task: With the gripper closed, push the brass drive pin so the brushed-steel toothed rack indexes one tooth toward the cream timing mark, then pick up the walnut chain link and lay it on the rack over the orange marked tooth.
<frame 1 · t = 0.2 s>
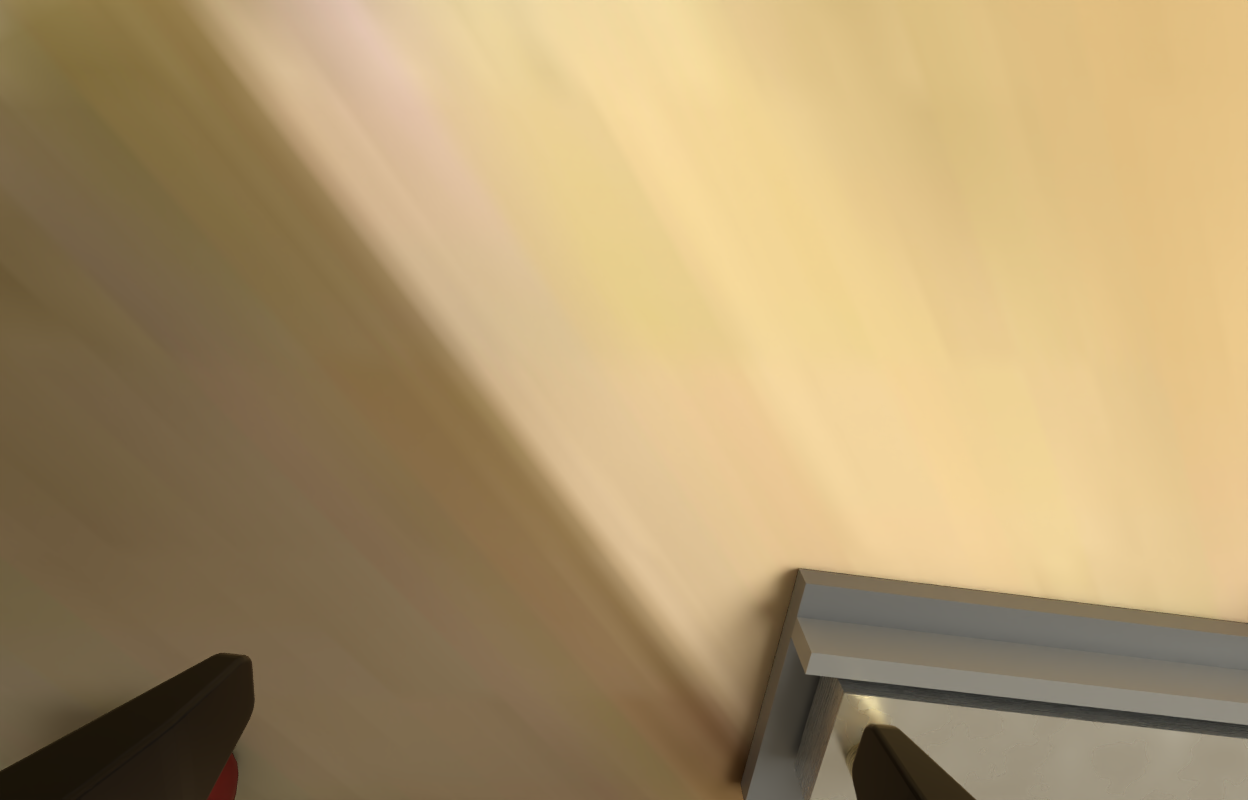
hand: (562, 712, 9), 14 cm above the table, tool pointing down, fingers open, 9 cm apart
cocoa: (198, 753, 28), on the table
guide plate: (1082, 720, 27), on the table
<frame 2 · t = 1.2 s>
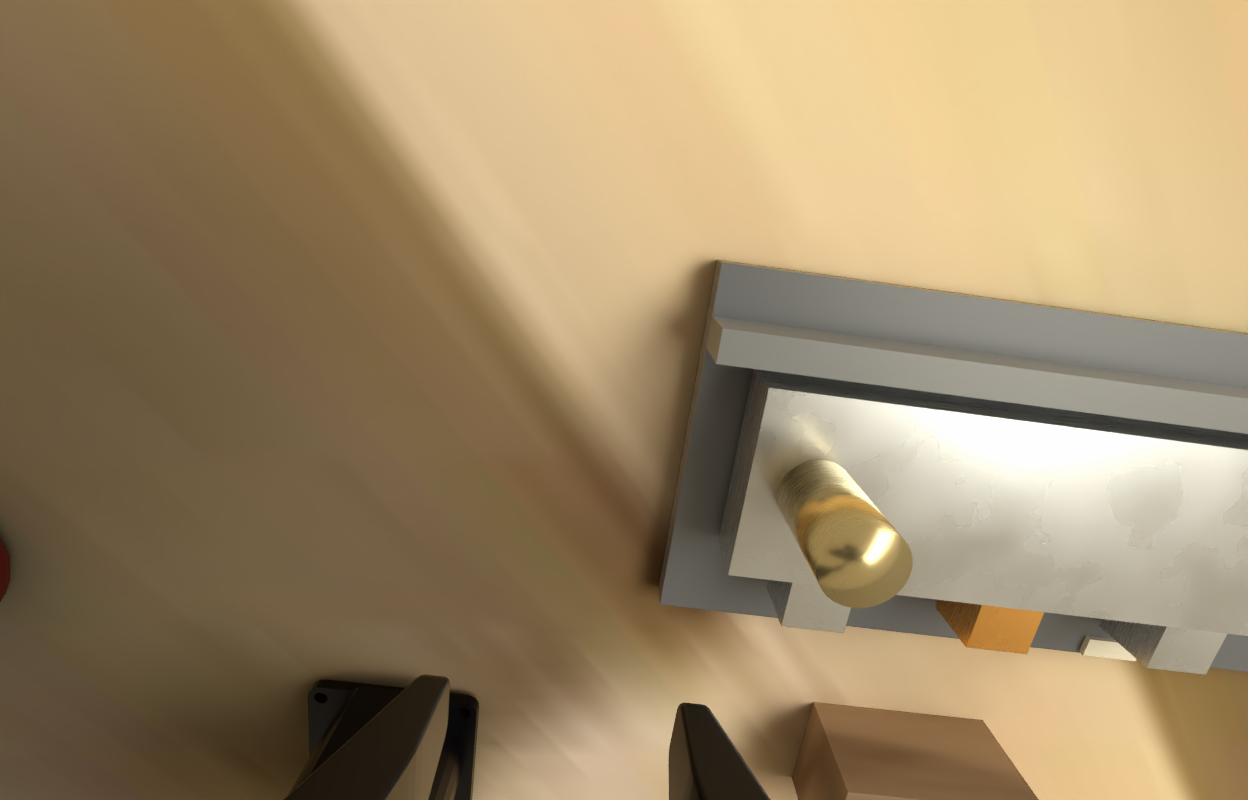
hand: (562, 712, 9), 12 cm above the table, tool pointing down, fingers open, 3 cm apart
marked link: (883, 746, 25), on the table
toothed rack: (1057, 563, 17), point 4 cm above the table, slide at 0.0 cm
guide plate: (1092, 489, 21), on the table
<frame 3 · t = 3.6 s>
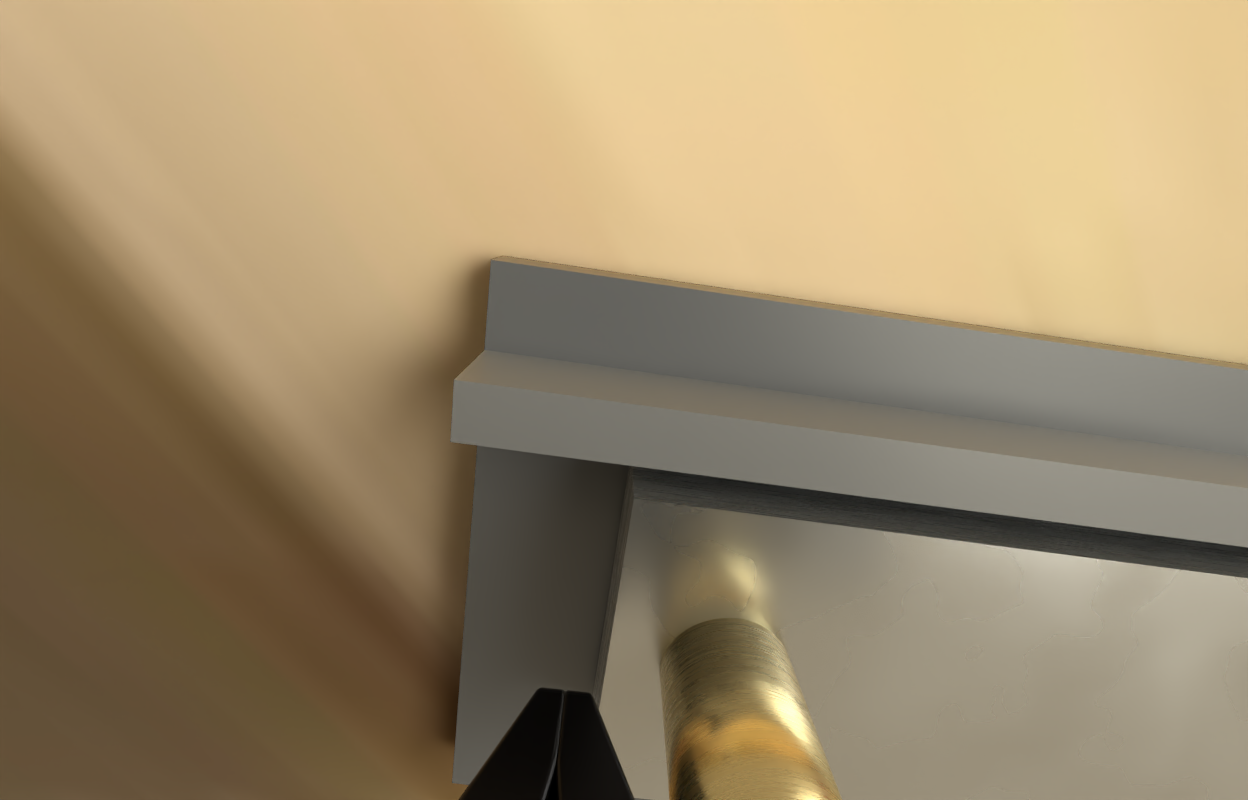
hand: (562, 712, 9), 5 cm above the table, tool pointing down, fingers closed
toothed rack: (1142, 799, 10), point 4 cm above the table, slide at 1.4 cm, touching gripper
guide plate: (1113, 614, 14), on the table
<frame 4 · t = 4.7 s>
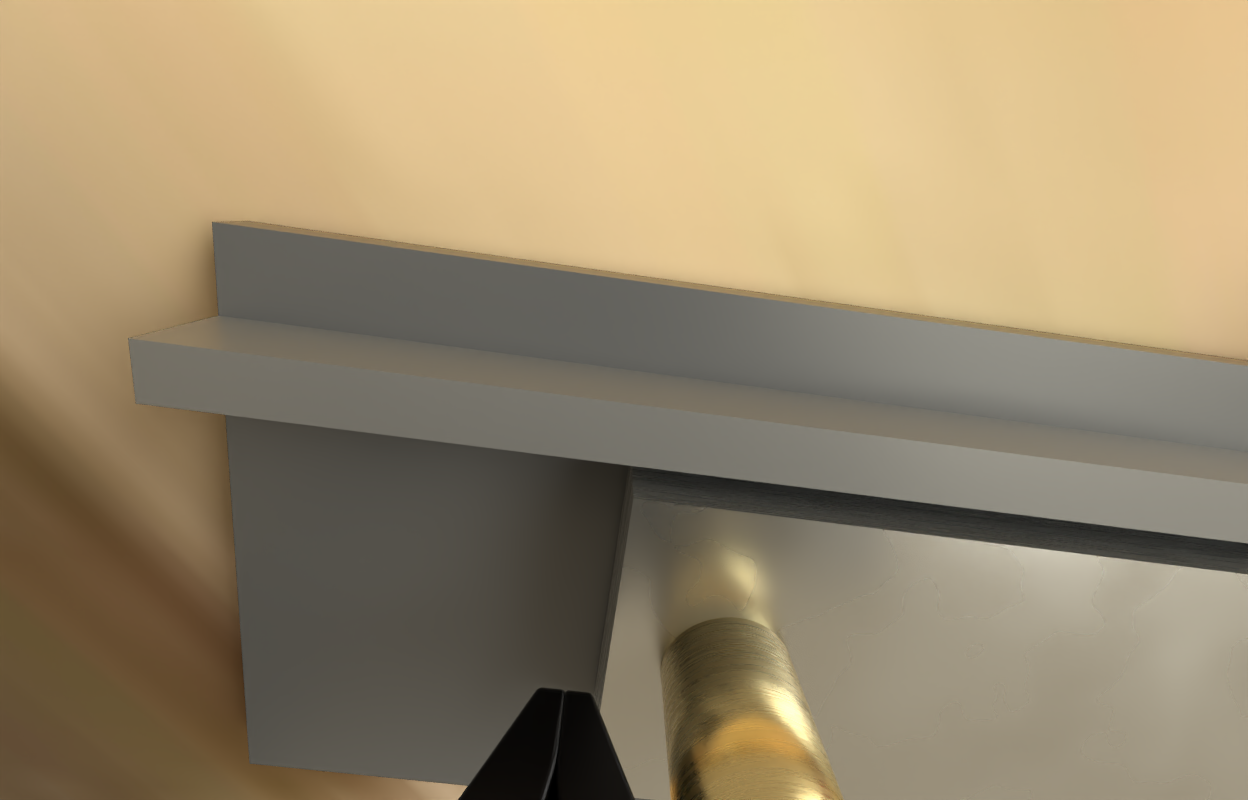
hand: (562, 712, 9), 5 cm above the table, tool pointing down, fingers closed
toothed rack: (1144, 796, 10), point 4 cm above the table, slide at 6.1 cm, touching gripper
guide plate: (916, 587, 13), on the table
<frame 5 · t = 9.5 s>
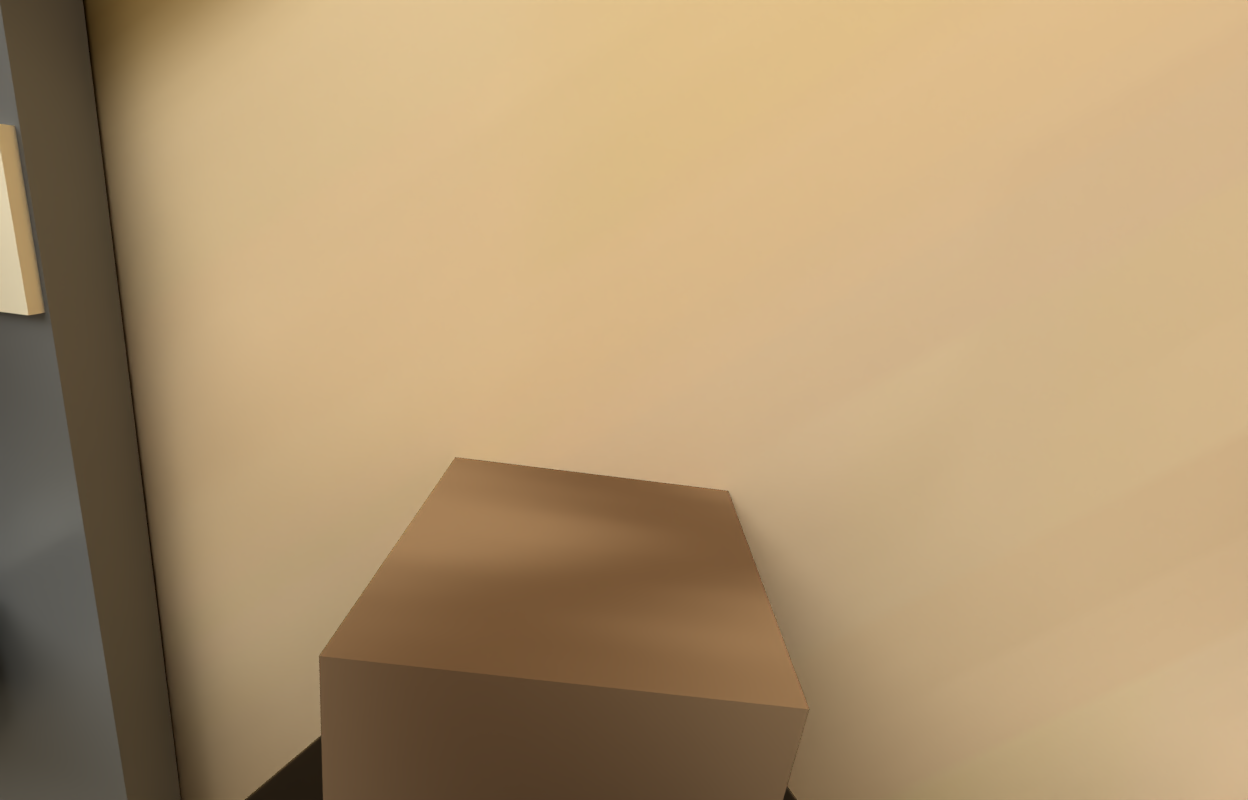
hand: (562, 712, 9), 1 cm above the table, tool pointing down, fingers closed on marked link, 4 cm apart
marked link: (567, 668, 10), on the table, touching gripper
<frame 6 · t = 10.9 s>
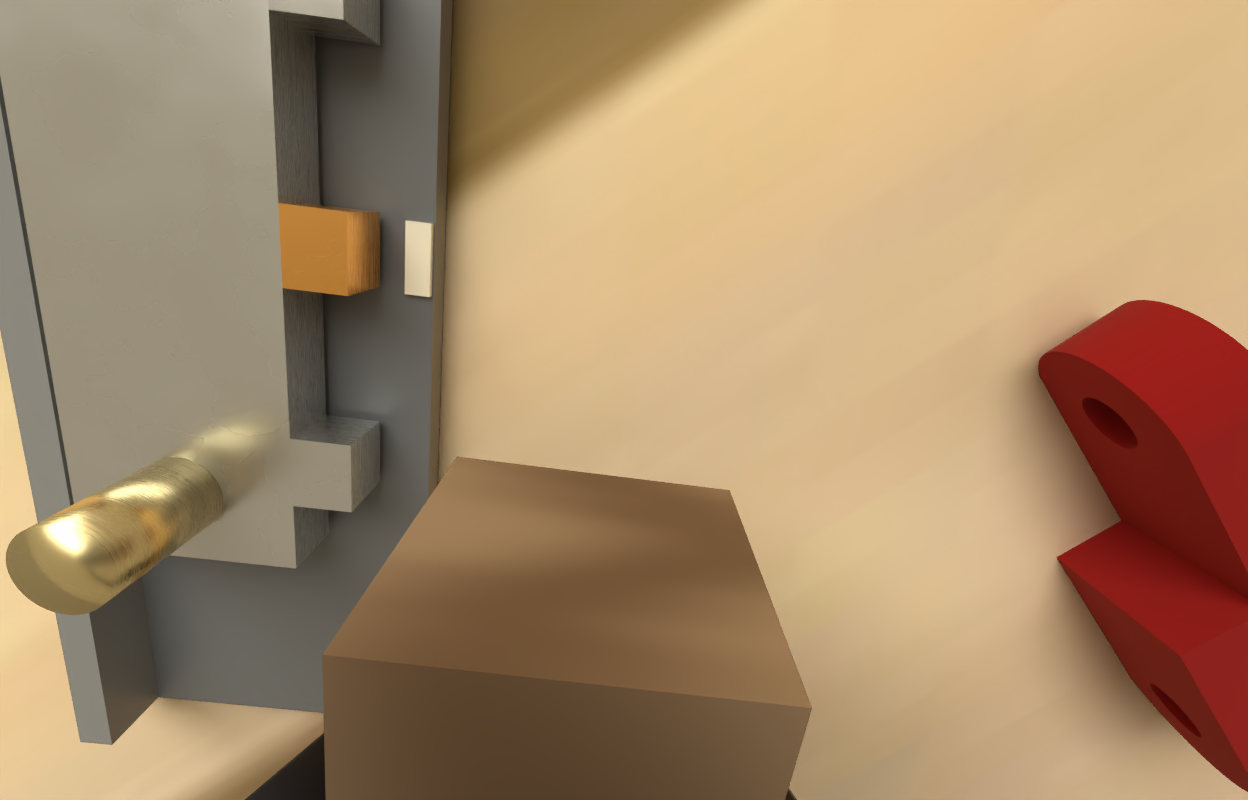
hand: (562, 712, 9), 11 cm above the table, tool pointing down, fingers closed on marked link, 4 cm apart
mechanical linkage: (1145, 496, 20), on the table
marked link: (569, 667, 10), point 10 cm above the table, touching gripper
toothed rack: (160, 236, 13), point 4 cm above the table, slide at 6.1 cm
guide plate: (244, 300, 18), on the table
when the fingers open (6 cm above the table, at t = 12.8 s): marked link drops 2 cm, resting on toothed rack.
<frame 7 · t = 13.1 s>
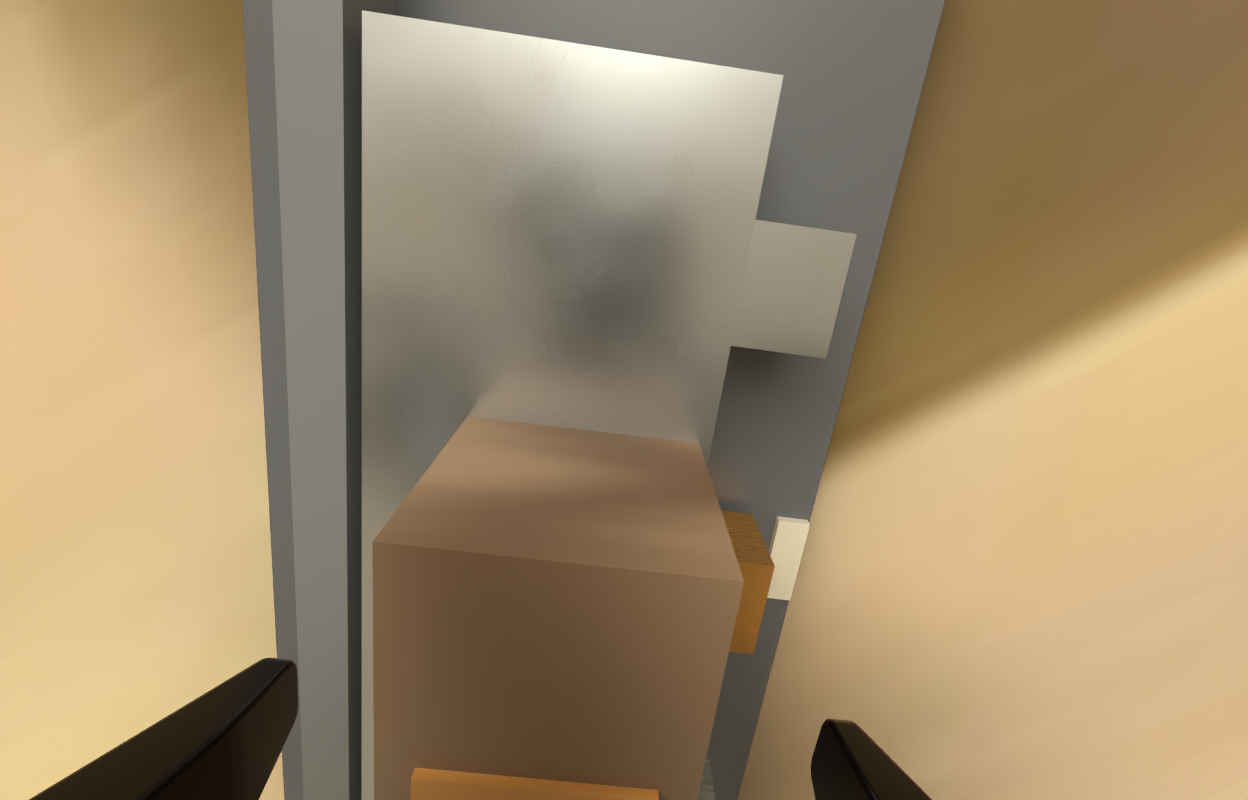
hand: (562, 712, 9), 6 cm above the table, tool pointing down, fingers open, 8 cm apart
marked link: (565, 601, 11), point 3 cm above the table, touching toothed rack
toothed rack: (560, 618, 10), point 4 cm above the table, slide at 6.1 cm, touching marked link
guide plate: (537, 577, 15), on the table
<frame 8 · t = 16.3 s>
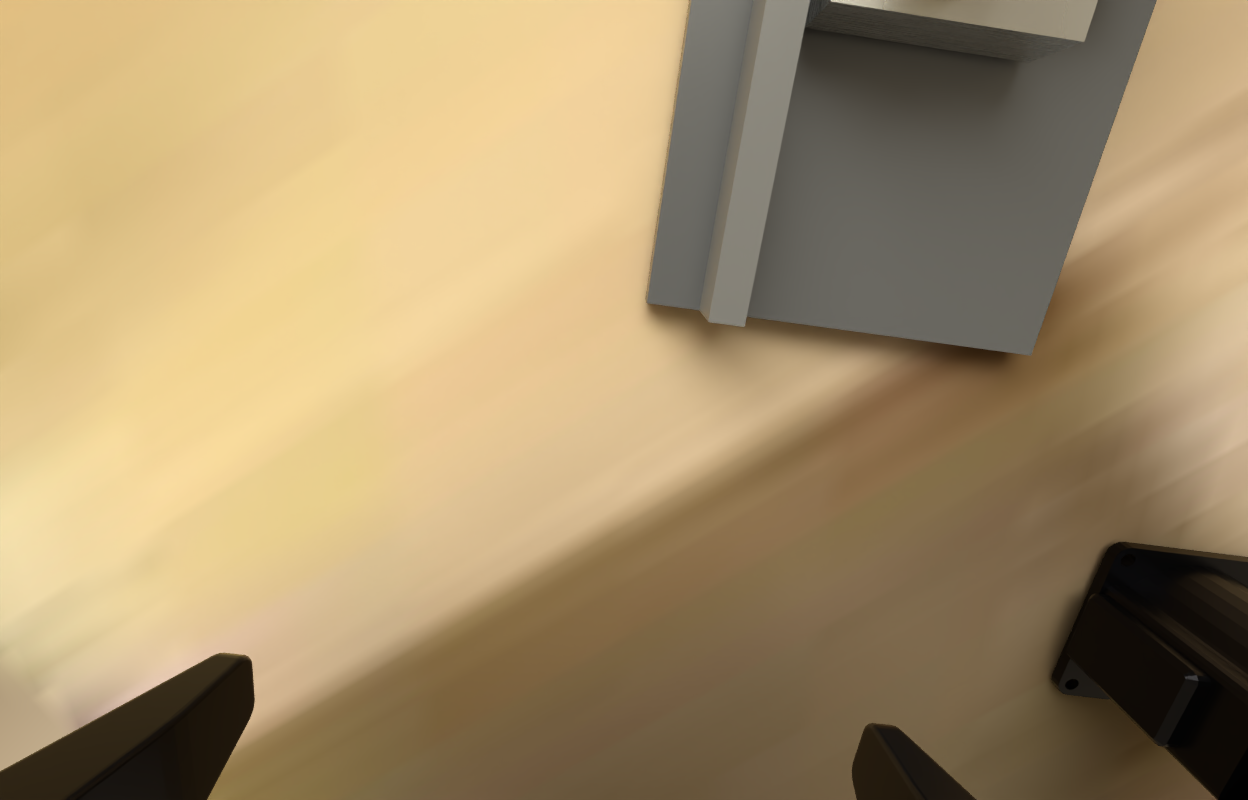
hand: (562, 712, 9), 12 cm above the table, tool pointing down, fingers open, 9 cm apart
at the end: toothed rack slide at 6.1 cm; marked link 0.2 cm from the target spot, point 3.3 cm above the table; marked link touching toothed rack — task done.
